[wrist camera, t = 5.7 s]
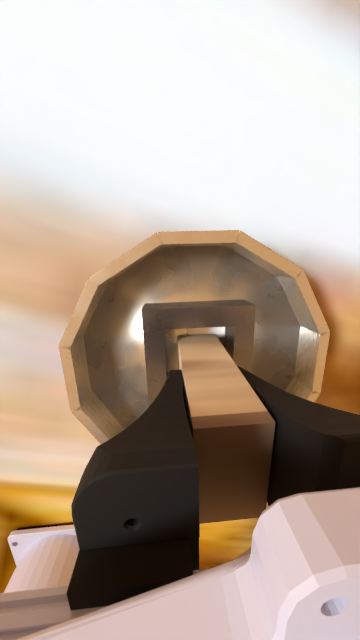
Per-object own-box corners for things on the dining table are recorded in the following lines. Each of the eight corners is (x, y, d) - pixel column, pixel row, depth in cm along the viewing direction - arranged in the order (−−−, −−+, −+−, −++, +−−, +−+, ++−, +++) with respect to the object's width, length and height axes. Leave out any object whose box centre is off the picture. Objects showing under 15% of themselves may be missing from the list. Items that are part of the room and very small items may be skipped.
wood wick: (213, 387, 15) (265, 516, 8) (179, 389, 15) (194, 523, 7) (214, 334, 14) (275, 422, 6) (177, 336, 14) (193, 429, 6)
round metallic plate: (289, 437, 18) (309, 464, 16) (95, 453, 17) (84, 485, 15) (314, 234, 14) (346, 227, 11) (61, 240, 13) (37, 234, 11)
